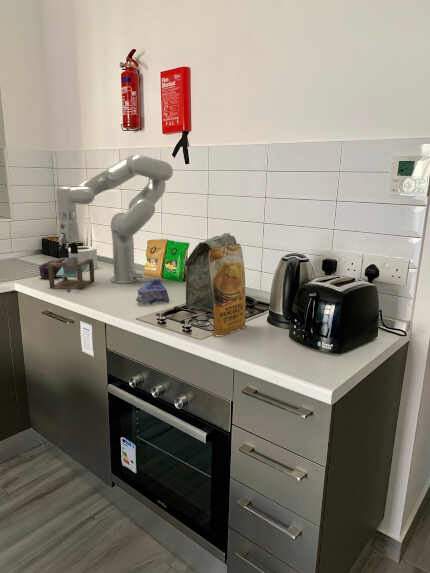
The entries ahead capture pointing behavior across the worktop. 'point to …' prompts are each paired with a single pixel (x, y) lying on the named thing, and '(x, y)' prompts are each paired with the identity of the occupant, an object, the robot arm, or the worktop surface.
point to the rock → (44, 269)
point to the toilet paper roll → (85, 255)
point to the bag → (202, 272)
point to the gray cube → (70, 261)
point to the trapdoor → (62, 274)
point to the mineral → (152, 292)
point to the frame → (67, 283)
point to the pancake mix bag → (227, 288)
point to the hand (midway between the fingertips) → (69, 255)
